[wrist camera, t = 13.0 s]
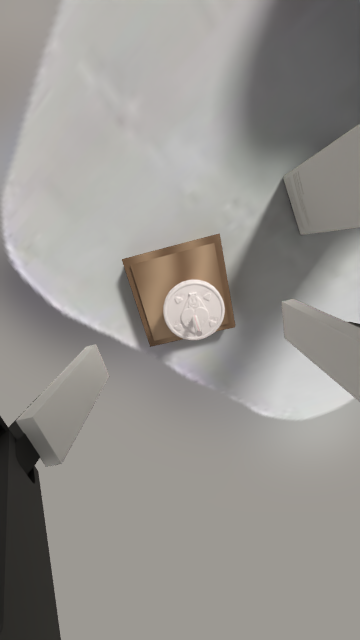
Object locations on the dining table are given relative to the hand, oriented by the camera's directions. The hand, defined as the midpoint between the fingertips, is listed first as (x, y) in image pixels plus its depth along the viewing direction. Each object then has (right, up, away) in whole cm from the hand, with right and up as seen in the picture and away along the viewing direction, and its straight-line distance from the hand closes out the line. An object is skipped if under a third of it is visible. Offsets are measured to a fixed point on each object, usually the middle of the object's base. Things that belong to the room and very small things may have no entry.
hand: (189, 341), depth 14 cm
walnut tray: (0, +6, +19) cm, 21 cm away
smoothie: (+1, +5, +16) cm, 17 cm away
